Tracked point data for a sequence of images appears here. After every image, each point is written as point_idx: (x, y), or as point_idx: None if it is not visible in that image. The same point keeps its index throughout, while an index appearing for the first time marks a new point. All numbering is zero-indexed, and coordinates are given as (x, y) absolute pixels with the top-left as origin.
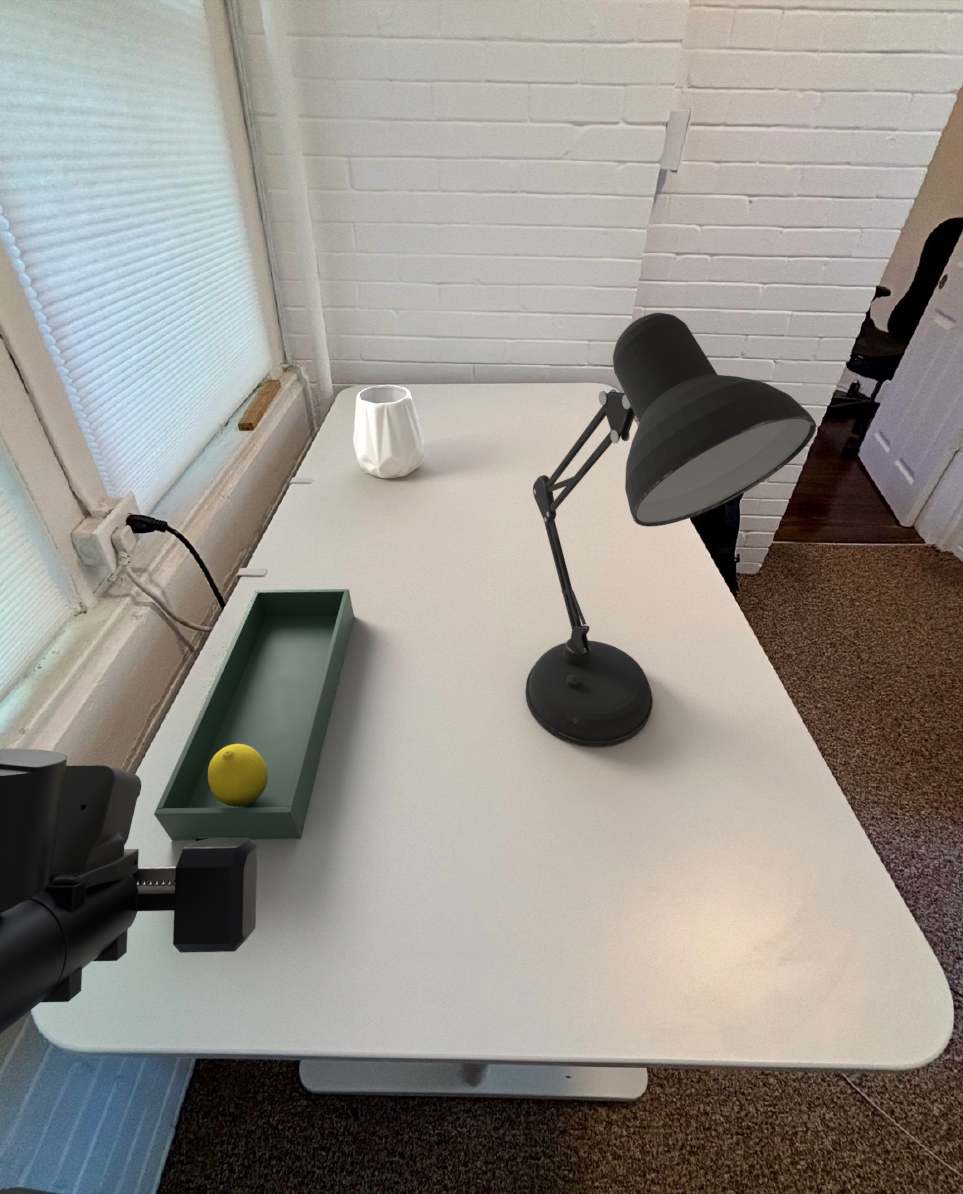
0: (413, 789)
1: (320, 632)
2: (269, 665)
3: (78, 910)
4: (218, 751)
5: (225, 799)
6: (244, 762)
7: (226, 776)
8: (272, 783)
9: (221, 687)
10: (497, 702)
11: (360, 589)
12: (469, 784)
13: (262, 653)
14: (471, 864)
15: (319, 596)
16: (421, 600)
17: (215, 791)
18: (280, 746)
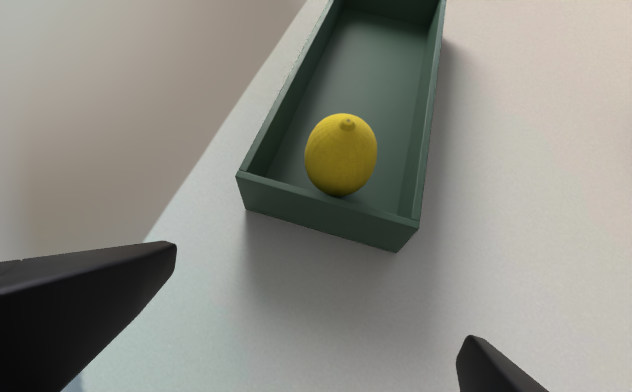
0: (528, 232)
1: (400, 35)
2: (350, 52)
3: None
4: (327, 117)
5: (325, 183)
6: (366, 141)
7: (341, 154)
8: None
9: (311, 53)
10: (611, 157)
11: None
12: (599, 247)
13: (342, 40)
14: (628, 361)
15: None
16: (500, 32)
17: (315, 169)
18: None
